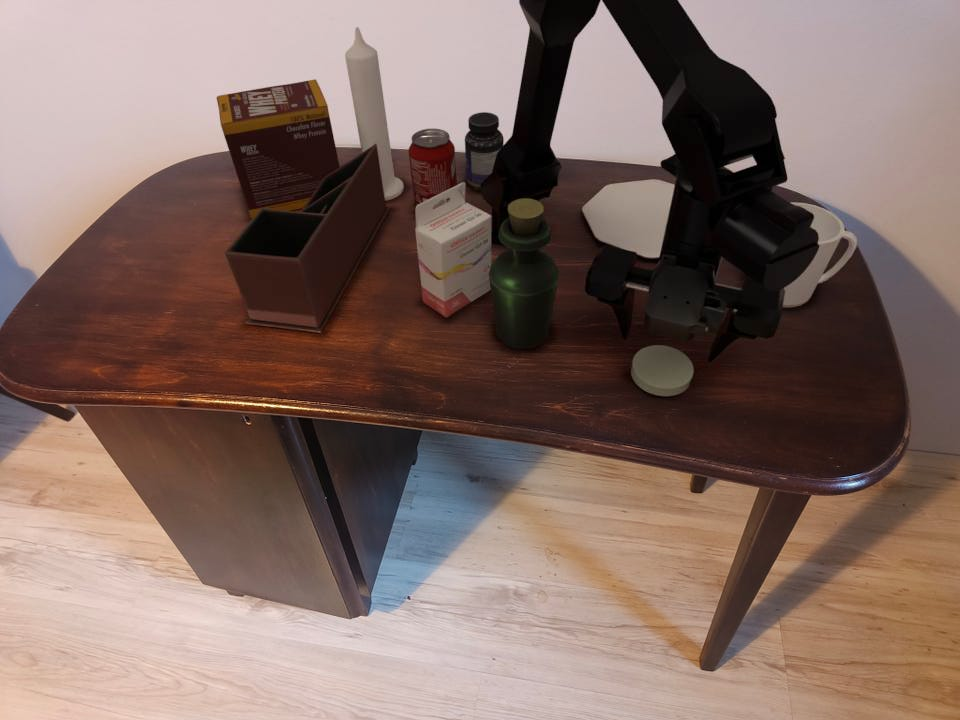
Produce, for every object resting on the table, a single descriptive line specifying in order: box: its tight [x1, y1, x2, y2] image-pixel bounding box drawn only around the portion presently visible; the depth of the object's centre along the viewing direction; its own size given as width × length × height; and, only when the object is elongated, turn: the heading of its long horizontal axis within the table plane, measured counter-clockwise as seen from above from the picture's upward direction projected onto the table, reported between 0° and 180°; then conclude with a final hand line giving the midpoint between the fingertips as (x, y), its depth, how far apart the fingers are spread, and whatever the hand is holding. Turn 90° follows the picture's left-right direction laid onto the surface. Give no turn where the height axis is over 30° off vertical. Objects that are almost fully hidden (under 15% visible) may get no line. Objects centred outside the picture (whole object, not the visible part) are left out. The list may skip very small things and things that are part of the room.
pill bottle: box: [464, 111, 505, 192], centre depth 101 cm, size 6×6×11 cm
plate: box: [581, 178, 675, 260], centre depth 95 cm, size 20×20×2 cm
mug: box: [748, 201, 858, 309], centre depth 80 cm, size 11×9×10 cm
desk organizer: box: [224, 144, 391, 334], centre depth 87 cm, size 10×29×11 cm, turn 168°
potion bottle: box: [489, 198, 560, 351], centre depth 73 cm, size 8×8×18 cm
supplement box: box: [215, 78, 340, 219], centre depth 99 cm, size 10×15×16 cm
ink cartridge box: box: [414, 181, 492, 319], centre depth 80 cm, size 9×5×15 cm, turn 134°
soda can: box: [408, 128, 458, 210], centre depth 96 cm, size 7×7×12 cm
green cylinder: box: [630, 344, 695, 397], centre depth 73 cm, size 7×7×2 cm
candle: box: [344, 26, 405, 202], centre depth 96 cm, size 7×7×25 cm
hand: (666, 348), depth 70 cm, fingers open, 9 cm apart
